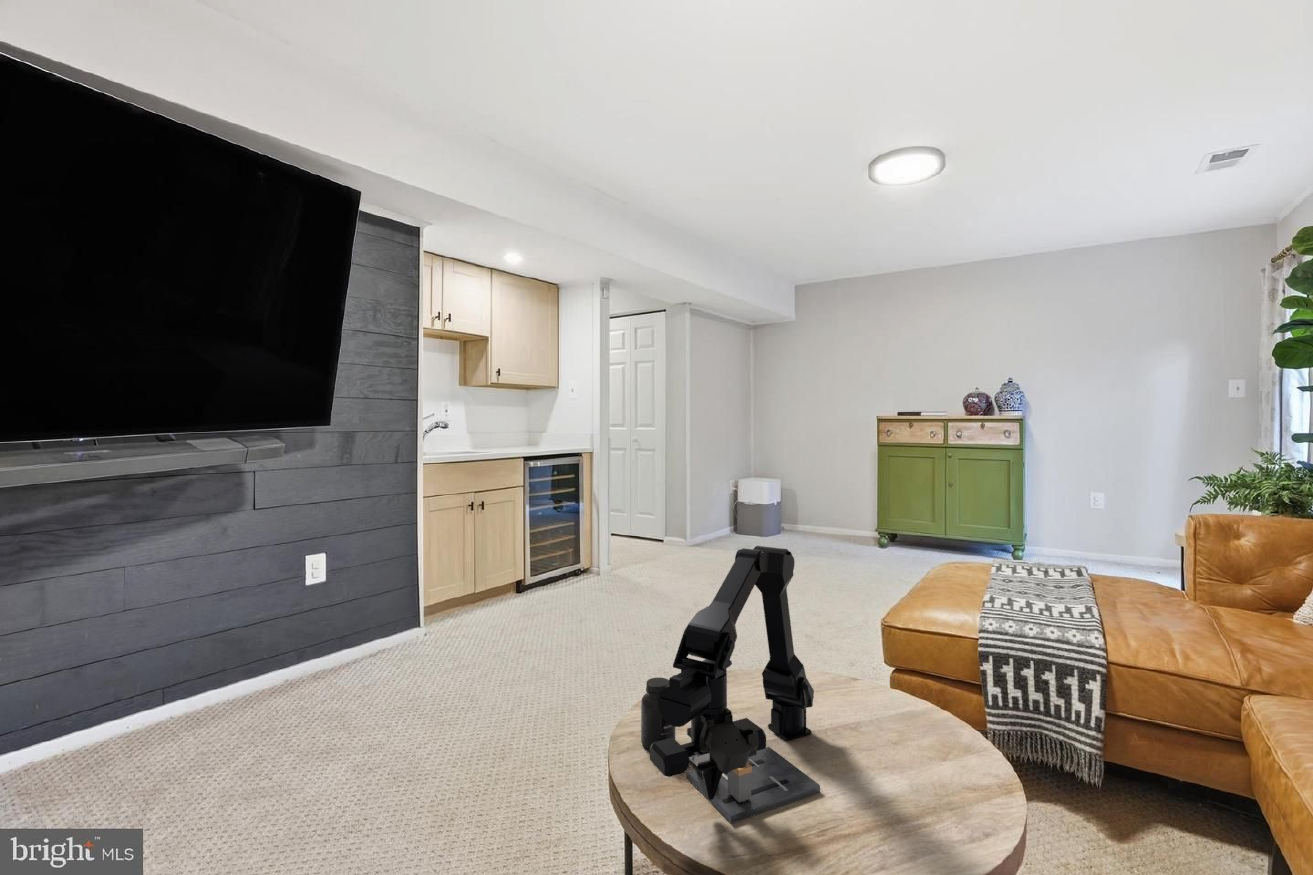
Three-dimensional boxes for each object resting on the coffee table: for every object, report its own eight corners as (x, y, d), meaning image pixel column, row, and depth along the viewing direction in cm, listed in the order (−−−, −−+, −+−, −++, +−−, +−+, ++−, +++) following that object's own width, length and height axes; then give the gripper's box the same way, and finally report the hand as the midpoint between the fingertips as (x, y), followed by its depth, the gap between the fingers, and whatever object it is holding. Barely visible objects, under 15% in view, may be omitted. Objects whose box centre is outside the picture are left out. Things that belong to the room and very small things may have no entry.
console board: (768, 752, 113) (768, 745, 113) (820, 792, 100) (820, 784, 100) (686, 777, 105) (686, 770, 105) (731, 823, 92) (730, 815, 92)
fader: (740, 787, 99) (739, 756, 99) (752, 798, 96) (751, 766, 96) (726, 791, 98) (726, 760, 98) (738, 802, 95) (738, 770, 95)
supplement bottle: (672, 753, 113) (672, 690, 113) (637, 749, 114) (637, 687, 114) (678, 735, 119) (678, 676, 119) (645, 732, 121) (645, 673, 121)
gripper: (682, 737, 83) (683, 848, 83) (788, 709, 91) (788, 810, 91) (647, 705, 93) (648, 804, 93) (746, 682, 101) (746, 773, 101)
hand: (709, 798), depth 94 cm, fingers closed
